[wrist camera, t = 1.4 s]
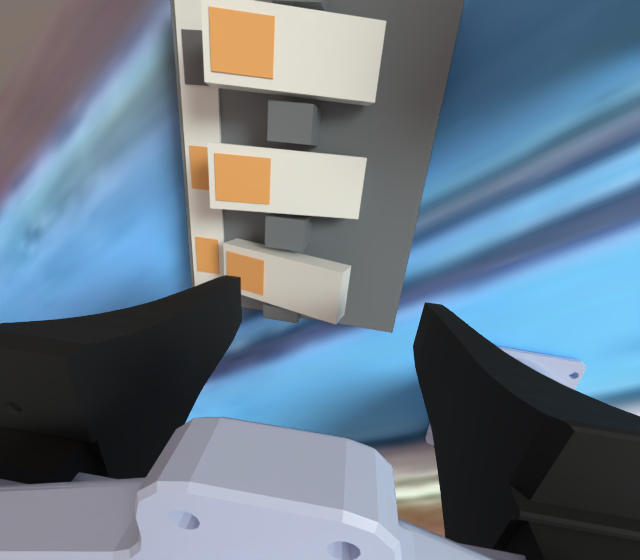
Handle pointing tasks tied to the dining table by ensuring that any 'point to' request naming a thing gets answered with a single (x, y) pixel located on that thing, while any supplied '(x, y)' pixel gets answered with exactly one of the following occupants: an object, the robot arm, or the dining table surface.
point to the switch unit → (324, 137)
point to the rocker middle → (284, 181)
